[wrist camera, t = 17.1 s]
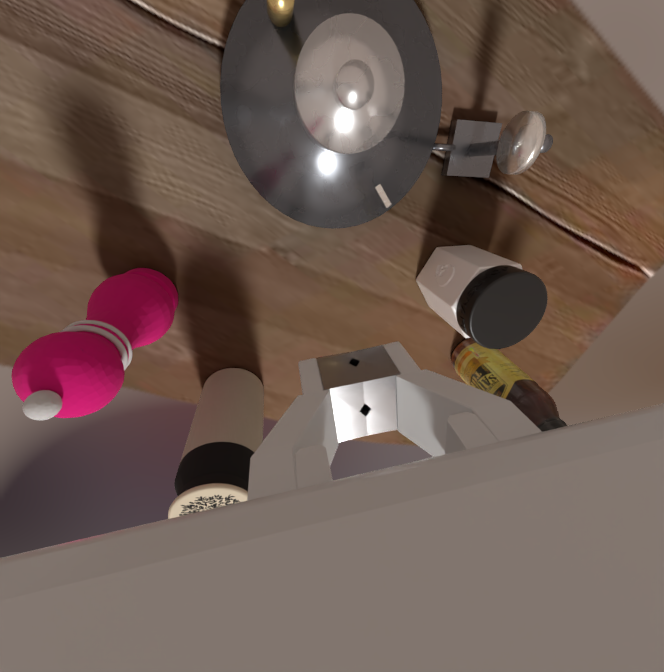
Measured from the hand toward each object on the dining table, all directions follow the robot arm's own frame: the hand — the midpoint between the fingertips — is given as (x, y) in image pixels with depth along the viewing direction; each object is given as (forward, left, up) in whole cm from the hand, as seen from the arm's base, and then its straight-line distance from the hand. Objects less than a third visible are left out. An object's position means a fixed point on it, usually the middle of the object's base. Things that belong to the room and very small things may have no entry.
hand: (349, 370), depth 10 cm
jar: (+20, -6, -29) cm, 36 cm away
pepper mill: (-16, -8, -29) cm, 34 cm away
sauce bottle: (+26, -18, -29) cm, 43 cm away
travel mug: (-8, -22, -29) cm, 38 cm away
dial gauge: (+18, +8, -29) cm, 35 cm away
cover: (+4, +11, -26) cm, 29 cm away
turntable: (+4, +10, -29) cm, 31 cm away
